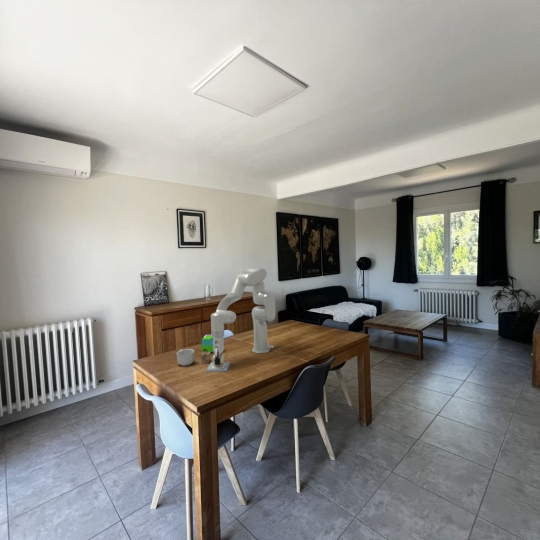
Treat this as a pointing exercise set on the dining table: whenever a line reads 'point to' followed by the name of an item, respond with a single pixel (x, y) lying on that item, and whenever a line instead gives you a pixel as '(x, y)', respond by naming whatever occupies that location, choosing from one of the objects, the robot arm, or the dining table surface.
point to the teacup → (185, 357)
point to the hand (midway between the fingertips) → (218, 362)
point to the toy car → (207, 344)
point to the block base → (220, 360)
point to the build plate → (218, 367)
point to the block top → (205, 357)
